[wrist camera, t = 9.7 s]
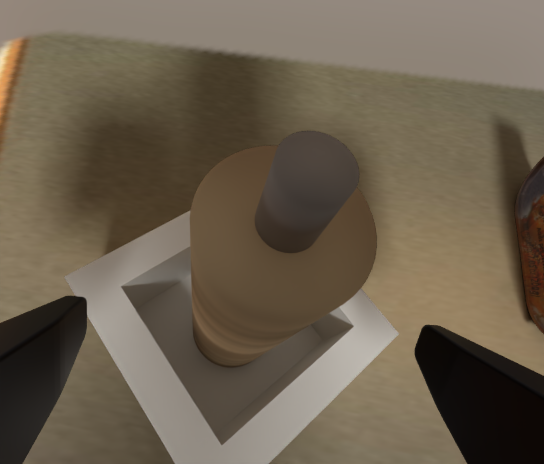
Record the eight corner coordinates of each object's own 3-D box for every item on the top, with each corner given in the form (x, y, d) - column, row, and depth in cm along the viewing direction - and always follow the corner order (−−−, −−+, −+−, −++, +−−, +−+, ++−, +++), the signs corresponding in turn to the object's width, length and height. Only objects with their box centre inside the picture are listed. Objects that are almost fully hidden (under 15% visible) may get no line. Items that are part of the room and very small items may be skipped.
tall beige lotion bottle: (247, 382, 17) (395, 344, 4) (176, 342, 17) (128, 196, 5) (282, 311, 19) (454, 143, 6) (218, 275, 19) (263, 42, 6)
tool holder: (204, 490, 15) (209, 522, 11) (92, 304, 17) (64, 276, 13) (355, 347, 19) (398, 333, 15) (250, 213, 22) (264, 171, 18)
